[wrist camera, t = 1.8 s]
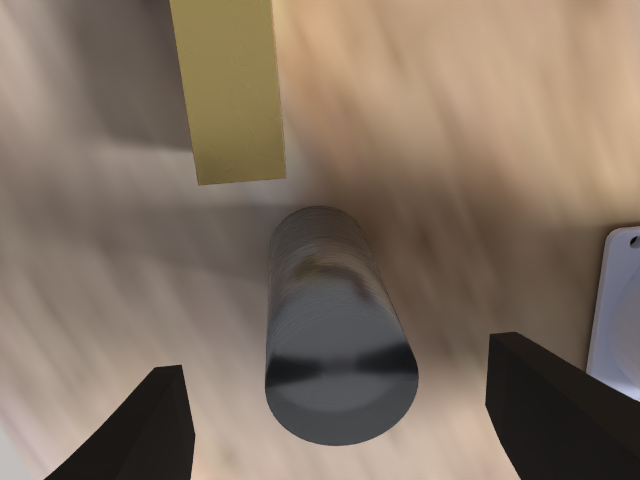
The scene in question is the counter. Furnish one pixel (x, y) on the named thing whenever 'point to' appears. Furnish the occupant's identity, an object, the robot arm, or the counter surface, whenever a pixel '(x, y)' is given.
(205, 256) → the counter surface
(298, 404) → the peg
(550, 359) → the robot arm
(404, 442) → the counter surface
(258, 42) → the khaki rectangular plank
